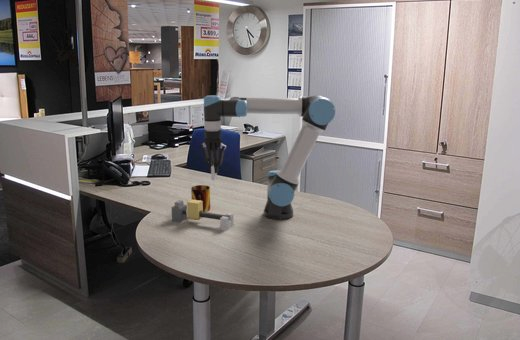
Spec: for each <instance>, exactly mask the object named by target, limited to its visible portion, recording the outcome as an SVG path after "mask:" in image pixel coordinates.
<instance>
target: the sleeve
mask: <svg viewBox="0 0 520 340" xmlns="http://www.w3.org/2000/svg"><path fill="white" fill-rule="evenodd" d="M186 205H187V214H188V217H187V219H188V220H195V221H200V220H202V218H203V219H204V217H199V212H200V211H201V212H203V201H200V200H193V199H192V198H191V199H190V200H188V201H187V202H186Z"/></svg>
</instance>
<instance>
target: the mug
mask: <svg viewBox="0 0 520 340" xmlns="http://www.w3.org/2000/svg"><path fill="white" fill-rule="evenodd" d="M190 192H191V200H192V199H193V200H200V201H203V212H207V213H208V212H209V211H211V187H210V185H204V184H198V185H194V186H191V191H190Z"/></svg>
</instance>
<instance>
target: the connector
mask: <svg viewBox="0 0 520 340" xmlns="http://www.w3.org/2000/svg"><path fill="white" fill-rule="evenodd" d="M184 209H187V204H184V200H181V199H178V200H177V201H175V202H174V205H173V206H172V207H171V221H172V222H175V223H176V222H177V223H182V222H185V220H187V219H188V217H187V215H184V214H183V210H184Z"/></svg>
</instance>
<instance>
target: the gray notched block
mask: <svg viewBox="0 0 520 340" xmlns="http://www.w3.org/2000/svg"><path fill="white" fill-rule="evenodd" d="M225 215H227V216H229V220H228V217H224V216H222V218H220V220H219V221H220V222H219V229H220V231H225V232H227V231H228V230H229V229H231V228H232V227H233V226H234V225H235V224H234V223H235V221H234V220H235V219H234V213H233V212H227V213H225Z"/></svg>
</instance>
